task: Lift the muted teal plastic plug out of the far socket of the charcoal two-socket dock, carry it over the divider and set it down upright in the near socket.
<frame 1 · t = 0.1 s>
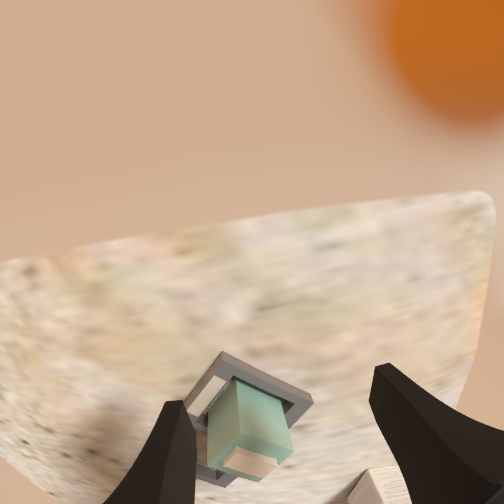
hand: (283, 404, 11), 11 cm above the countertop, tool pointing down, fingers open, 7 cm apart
skincare box: (369, 480, 28), on the countertop
plug: (243, 404, 23), resting in dock
dock: (223, 427, 23), on the countertop
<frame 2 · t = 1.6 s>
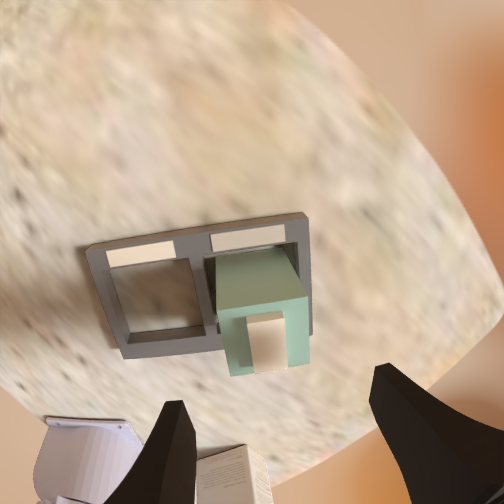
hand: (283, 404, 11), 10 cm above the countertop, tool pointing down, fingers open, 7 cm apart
skincare box: (231, 457, 28), on the countertop
plug: (252, 281, 20), resting in dock
dock: (204, 288, 20), on the countertop
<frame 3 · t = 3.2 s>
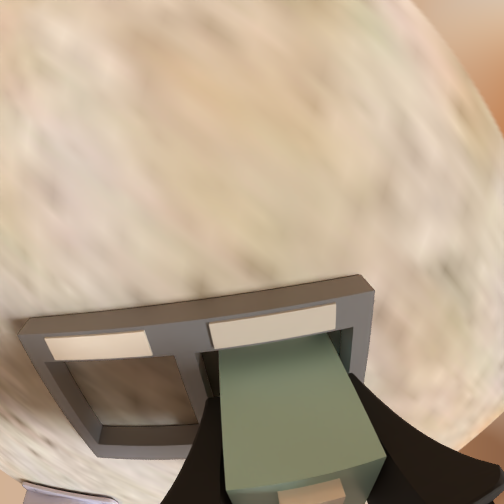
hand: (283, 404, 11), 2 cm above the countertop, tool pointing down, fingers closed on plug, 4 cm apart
plug: (275, 373, 12), resting in dock, touching gripper
dock: (201, 384, 12), on the countertop
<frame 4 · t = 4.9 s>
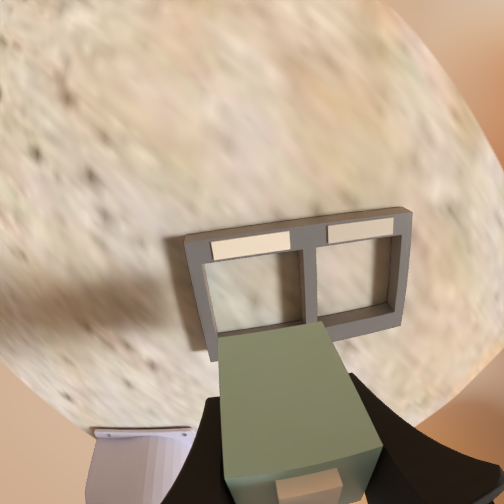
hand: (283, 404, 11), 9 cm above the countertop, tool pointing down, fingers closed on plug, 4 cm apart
plug: (274, 367, 13), point 7 cm above the countertop, touching gripper
dock: (305, 282, 19), on the countertop
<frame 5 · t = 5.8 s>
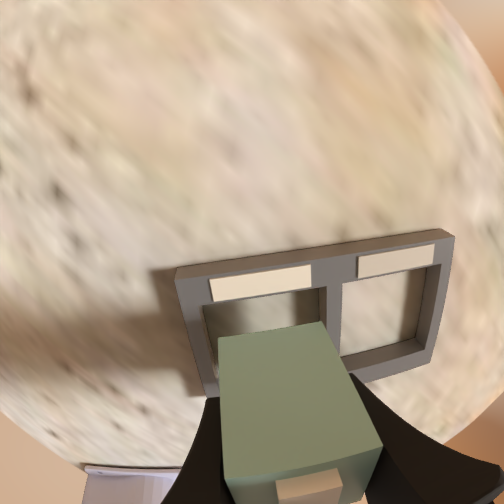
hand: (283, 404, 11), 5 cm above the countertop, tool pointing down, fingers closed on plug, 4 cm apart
plug: (274, 367, 13), point 3 cm above the countertop, touching gripper
dock: (326, 321, 15), on the countertop
when the fingers open (3 cm above the countertop, at t = 6.7 s): plug drops 1 cm, resting in dock.
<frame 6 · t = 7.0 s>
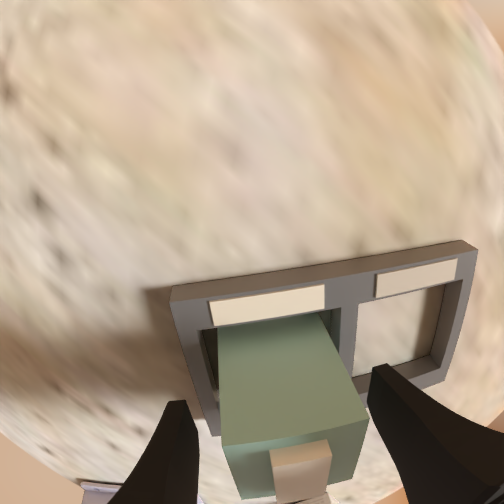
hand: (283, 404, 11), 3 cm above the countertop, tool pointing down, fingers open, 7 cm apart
plug: (270, 351, 14), resting in dock
dock: (337, 341, 14), on the countertop
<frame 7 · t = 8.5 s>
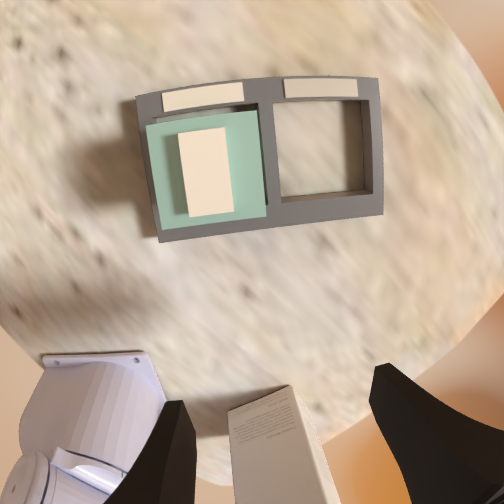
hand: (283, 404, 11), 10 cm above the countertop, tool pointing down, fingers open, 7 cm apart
skincare box: (269, 406, 25), on the countertop
plug: (210, 156, 17), resting in dock
dock: (266, 151, 17), on the countertop
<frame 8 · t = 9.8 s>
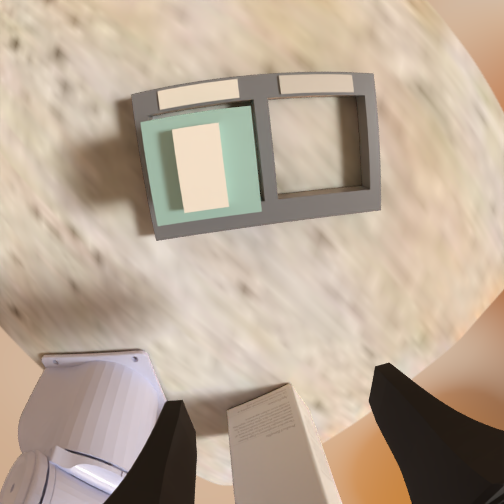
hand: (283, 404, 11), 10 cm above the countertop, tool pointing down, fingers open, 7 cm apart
skincare box: (268, 405, 25), on the countertop
plug: (206, 153, 17), resting in dock
dock: (263, 148, 17), on the countertop
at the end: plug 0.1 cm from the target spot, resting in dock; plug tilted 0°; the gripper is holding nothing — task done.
